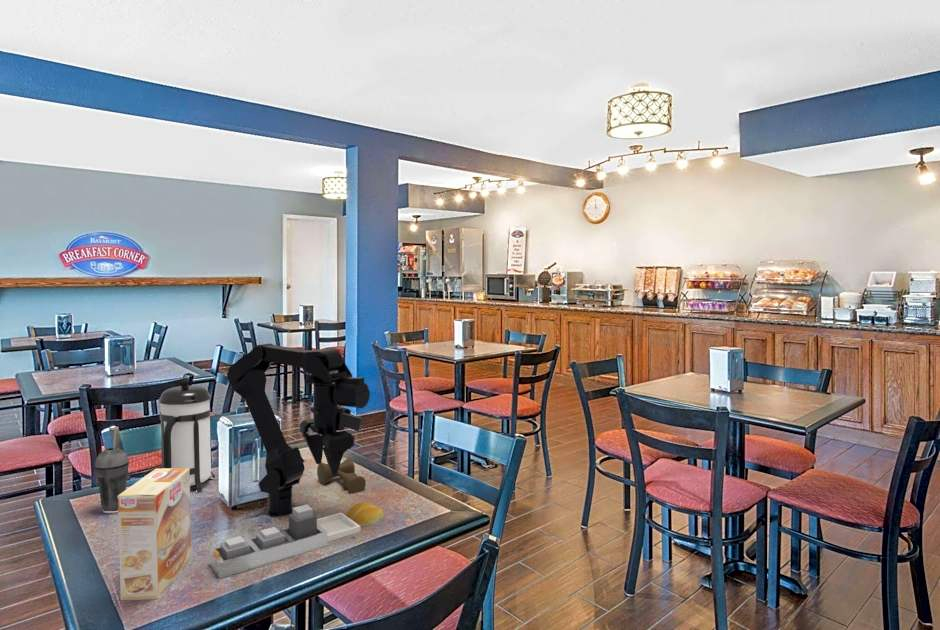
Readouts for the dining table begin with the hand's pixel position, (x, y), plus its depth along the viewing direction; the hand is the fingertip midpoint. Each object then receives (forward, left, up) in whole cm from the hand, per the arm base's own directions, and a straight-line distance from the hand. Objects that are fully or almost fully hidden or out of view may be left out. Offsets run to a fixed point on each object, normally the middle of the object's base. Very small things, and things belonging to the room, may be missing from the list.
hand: (326, 469), depth 135 cm
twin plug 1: (+9, -23, -12) cm, 28 cm away
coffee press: (-44, -20, -13) cm, 51 cm away
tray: (+6, -1, -13) cm, 14 cm away
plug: (+8, -9, -12) cm, 18 cm away
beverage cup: (-38, -38, -13) cm, 56 cm away
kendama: (-21, +14, -13) cm, 29 cm away
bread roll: (+4, +8, -13) cm, 16 cm away
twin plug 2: (+9, -16, -12) cm, 22 cm away
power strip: (+9, -16, -13) cm, 23 cm away
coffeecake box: (+5, -36, -13) cm, 39 cm away
